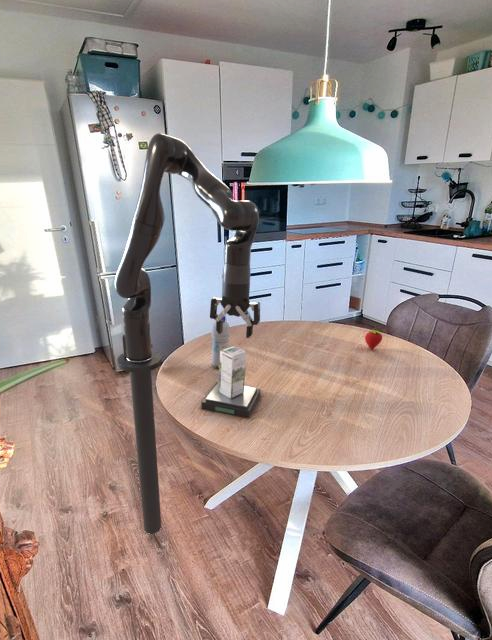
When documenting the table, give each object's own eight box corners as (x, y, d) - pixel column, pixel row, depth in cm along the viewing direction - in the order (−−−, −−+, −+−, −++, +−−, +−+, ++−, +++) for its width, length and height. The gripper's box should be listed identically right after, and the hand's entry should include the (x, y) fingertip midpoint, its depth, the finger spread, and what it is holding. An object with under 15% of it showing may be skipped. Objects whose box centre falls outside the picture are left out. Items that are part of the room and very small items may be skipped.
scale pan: (205, 400, 117) (205, 398, 117) (218, 383, 128) (218, 381, 127) (246, 408, 114) (247, 406, 114) (256, 390, 124) (257, 387, 124)
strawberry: (359, 347, 167) (363, 325, 163) (374, 345, 169) (379, 324, 165) (367, 352, 162) (372, 330, 158) (383, 351, 164) (387, 328, 160)
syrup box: (231, 386, 124) (233, 344, 118) (244, 393, 121) (246, 350, 114) (218, 392, 121) (219, 349, 114) (231, 399, 117) (232, 356, 111)
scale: (201, 409, 117) (201, 402, 116) (216, 387, 130) (216, 381, 129) (248, 418, 114) (249, 411, 113) (260, 395, 126) (260, 389, 125)
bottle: (218, 371, 140) (219, 319, 132) (207, 365, 145) (207, 314, 136) (232, 366, 145) (234, 316, 136) (221, 360, 149) (222, 311, 141)
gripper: (264, 279, 107) (260, 334, 114) (216, 274, 110) (215, 327, 117) (258, 285, 100) (254, 343, 107) (206, 279, 104) (206, 335, 111)
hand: (234, 335), depth 112 cm, fingers open, 8 cm apart
